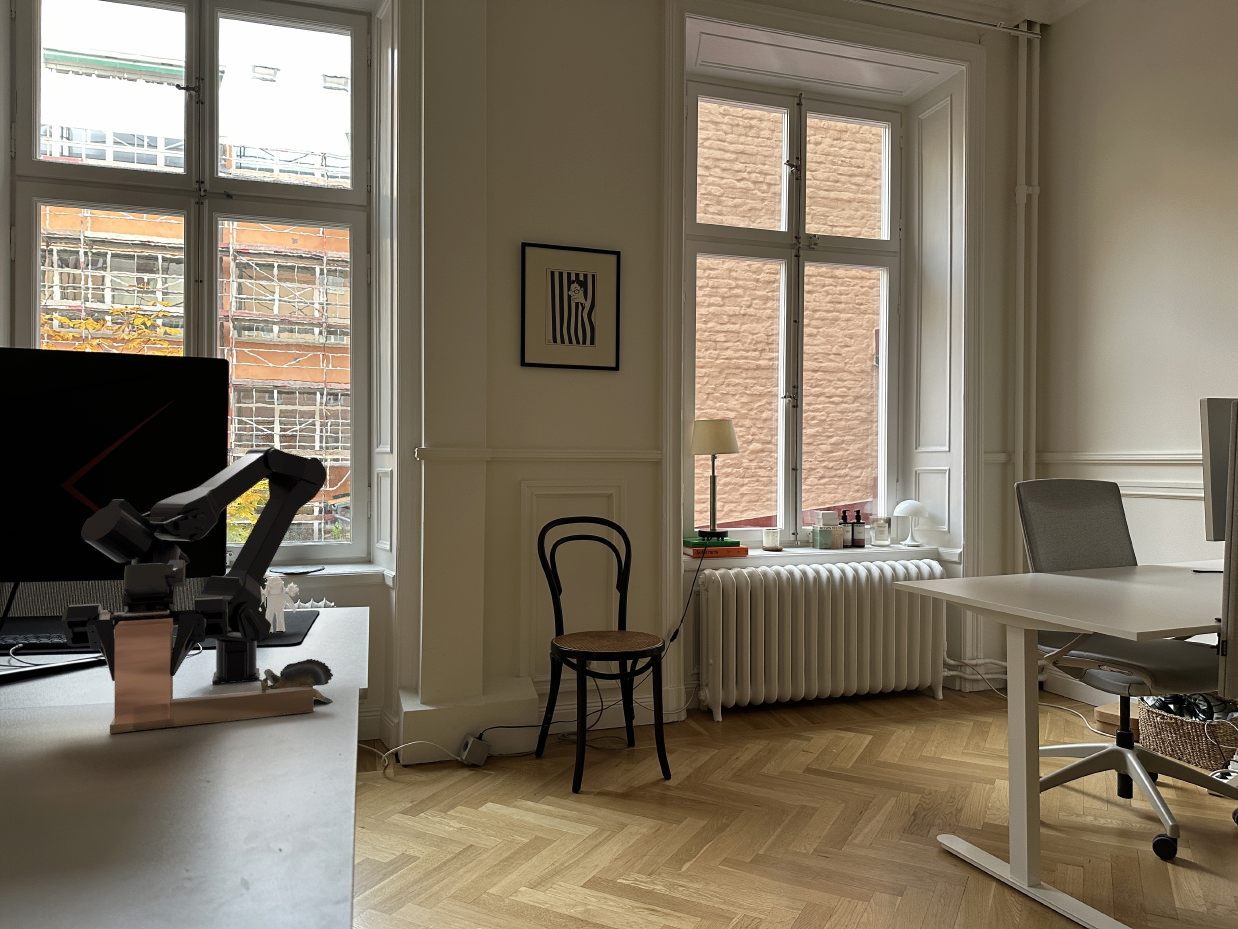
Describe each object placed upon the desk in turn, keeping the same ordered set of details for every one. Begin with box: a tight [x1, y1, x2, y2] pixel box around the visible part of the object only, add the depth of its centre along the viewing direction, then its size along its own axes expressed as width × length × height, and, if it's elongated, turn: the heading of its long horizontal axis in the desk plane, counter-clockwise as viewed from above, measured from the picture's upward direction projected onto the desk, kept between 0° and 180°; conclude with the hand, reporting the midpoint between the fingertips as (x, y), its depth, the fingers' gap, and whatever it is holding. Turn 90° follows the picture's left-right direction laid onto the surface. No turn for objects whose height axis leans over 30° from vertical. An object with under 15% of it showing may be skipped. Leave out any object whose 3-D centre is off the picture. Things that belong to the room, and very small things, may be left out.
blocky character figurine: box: [259, 573, 300, 633], centre depth 168 cm, size 9×4×12 cm, turn 116°
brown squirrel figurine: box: [258, 658, 334, 703], centre depth 116 cm, size 8×7×9 cm
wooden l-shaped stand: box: [109, 618, 314, 734], centre depth 112 cm, size 10×24×13 cm, turn 113°
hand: (143, 676), depth 105 cm, fingers closed on wooden l-shaped stand, 6 cm apart
